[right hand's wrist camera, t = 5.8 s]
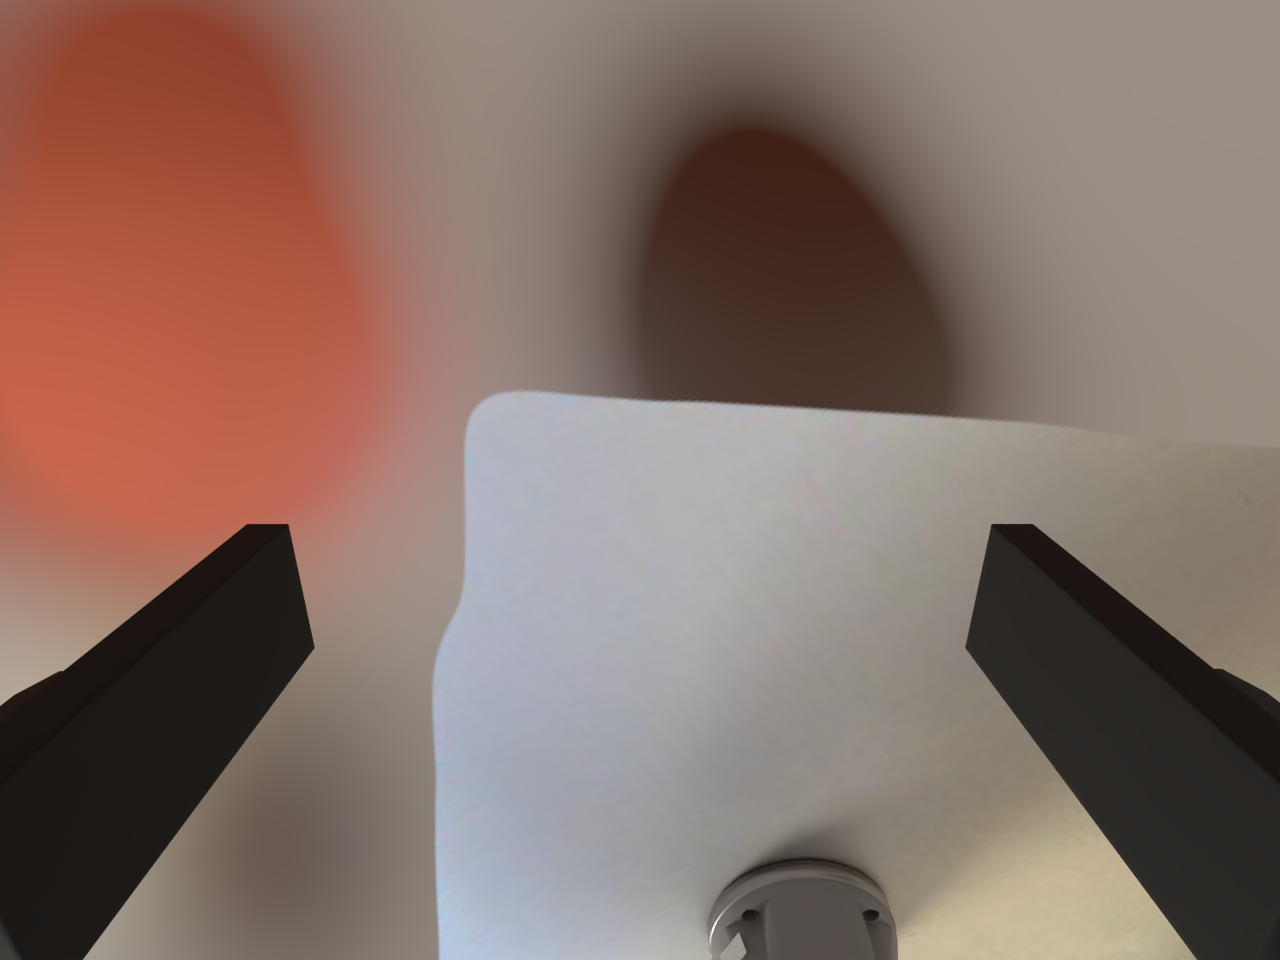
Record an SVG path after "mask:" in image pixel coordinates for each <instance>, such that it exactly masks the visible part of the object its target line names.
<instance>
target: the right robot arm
mask: <svg viewBox="0 0 1280 960" xmlns="http://www.w3.org/2000/svg"><path fill="white" fill-rule="evenodd" d="M314 648H315V647H314V643H313V638H312V633H311V628H310V624H309V619H308V615H307V610H306V605H305V600H304V596H303V591H302V586H301V581H300V577H299V572H298V567H297V563H296V558H295V553H294V549H293V544H292V539H291V534H290V530H289V525H288V524H247V525H246V526H244V527H243V528H242V529H241V530H239V531H238V532H237V533H236V534H234V535H233V536H232V537H231V538H229V539H228V540H227V541H226V542H224V543H223V544H222V545H221V546H219V547H218V548H217V549H216V550H214V551H213V552H212V553H211V554H209V555H208V556H207V557H206V558H204V559H203V560H202V561H201V562H199V563H198V564H197V565H196V566H194V567H193V568H192V569H191V570H189V571H188V572H187V573H186V574H184V575H183V576H182V577H181V578H179V579H178V580H177V581H176V582H174V583H173V584H172V585H171V586H169V587H168V588H167V589H166V590H164V591H163V592H162V593H161V594H159V595H158V596H157V597H156V598H154V599H153V600H152V601H151V602H149V603H148V604H147V605H146V606H144V607H143V608H142V609H141V610H139V611H138V612H137V613H136V614H134V615H133V616H132V617H131V618H129V619H128V620H127V621H126V622H124V623H123V624H122V625H121V626H119V627H118V628H117V629H116V630H114V631H113V632H112V633H111V634H109V635H108V636H107V637H106V638H104V639H103V640H102V641H101V642H99V643H98V644H97V645H96V646H94V647H93V648H92V649H91V650H89V651H88V652H87V653H86V654H84V655H83V656H82V657H81V658H79V659H78V660H77V661H75V662H74V663H73V664H72V665H71V666H69V667H68V668H67V669H66V670H64V671H59V672H57V673H55V674H53V675H51V676H49V677H48V678H46V679H44V680H42V681H40V682H38V683H36V684H34V685H33V686H31V687H29V688H27V689H25V690H23V691H21V692H19V693H17V694H15V695H14V696H13V697H11V698H10V699H9V700H7V701H6V702H5V703H4V704H2V705H1V706H0V960H83V959H84V957H85V956H86V955H87V953H88V952H89V951H90V949H91V948H92V947H93V945H94V944H95V943H96V941H97V940H98V939H99V937H100V936H101V935H102V933H103V932H104V930H105V929H106V928H107V926H108V925H109V924H110V922H111V921H112V920H113V918H114V917H115V916H116V914H117V913H118V912H119V910H120V909H121V908H122V906H123V905H124V904H125V902H126V901H127V900H128V898H129V897H130V895H131V894H132V893H133V891H134V890H135V889H136V887H137V886H138V885H139V883H140V882H141V881H142V879H143V878H144V877H145V875H146V874H147V873H148V871H149V870H150V869H151V867H152V866H153V864H154V863H155V862H156V861H157V859H158V858H159V856H160V855H161V854H162V852H163V851H164V850H165V848H166V847H167V846H168V844H169V843H170V842H171V840H172V839H173V838H174V836H175V835H176V834H177V832H178V831H179V830H180V828H181V827H182V826H183V824H184V823H185V822H186V820H187V819H188V817H189V816H190V815H191V813H192V812H193V811H194V809H195V808H196V807H197V805H198V804H199V803H200V801H201V800H202V799H203V797H204V796H205V795H206V793H207V792H208V791H209V789H210V788H211V787H212V785H213V784H214V782H215V781H216V780H217V778H218V777H219V776H220V774H221V773H222V772H223V770H224V769H225V768H226V766H227V765H228V764H229V762H230V761H231V760H232V758H233V757H234V756H235V754H236V753H237V752H238V750H239V749H240V748H241V746H242V745H243V744H244V742H245V741H246V739H247V738H248V737H249V735H250V734H251V733H252V731H253V730H254V729H255V727H256V726H257V725H258V723H259V722H260V721H261V719H262V718H263V717H264V715H265V714H266V713H267V711H268V710H269V709H270V707H271V706H272V704H273V703H274V702H275V700H276V699H277V698H278V696H279V695H280V694H281V692H282V691H283V690H284V688H285V687H286V686H287V684H288V683H289V682H290V680H291V679H292V678H293V676H294V675H295V673H296V672H297V671H298V669H299V668H300V667H301V665H302V664H303V663H304V661H305V660H306V659H307V657H308V656H309V655H310V653H311V652H312V651H313V649H314ZM965 648H966V649H967V651H968V652H969V653H970V655H971V656H972V657H973V659H974V660H975V661H976V663H977V664H978V665H979V667H980V668H981V670H982V671H983V672H984V674H985V675H986V676H987V678H988V679H989V680H990V682H991V683H992V684H993V686H994V687H995V688H996V690H997V691H998V692H999V694H1000V695H1001V696H1002V698H1003V699H1004V700H1005V702H1006V703H1007V704H1008V706H1009V707H1010V709H1011V710H1012V711H1013V713H1014V714H1015V715H1016V717H1017V718H1018V719H1019V721H1020V722H1021V723H1022V725H1023V726H1024V727H1025V729H1026V730H1027V731H1028V733H1029V734H1030V735H1031V737H1032V738H1033V739H1034V741H1035V742H1036V744H1037V745H1038V746H1039V748H1040V749H1041V750H1042V752H1043V753H1044V754H1045V756H1046V757H1047V758H1048V760H1049V761H1050V762H1051V764H1052V765H1053V766H1054V768H1055V769H1056V770H1057V772H1058V773H1059V774H1060V776H1061V777H1062V778H1063V780H1064V781H1065V783H1066V784H1067V785H1068V787H1069V788H1070V789H1071V791H1072V792H1073V793H1074V795H1075V796H1076V797H1077V799H1078V800H1079V801H1080V803H1081V804H1082V805H1083V807H1084V808H1085V809H1086V811H1087V812H1088V813H1089V815H1090V816H1091V817H1092V819H1093V820H1094V822H1095V823H1096V824H1097V826H1098V827H1099V828H1100V830H1101V831H1102V832H1103V834H1104V835H1105V836H1106V838H1107V839H1108V840H1109V842H1110V843H1111V844H1112V846H1113V847H1114V848H1115V850H1116V851H1117V852H1118V854H1119V855H1120V856H1121V858H1122V859H1123V861H1124V862H1125V863H1126V865H1127V866H1128V867H1129V869H1130V870H1131V871H1132V873H1133V874H1134V875H1135V877H1136V878H1137V879H1138V881H1139V882H1140V883H1141V885H1142V886H1143V887H1144V889H1145V890H1146V891H1147V893H1148V894H1149V896H1150V897H1151V898H1152V900H1153V901H1154V902H1155V904H1156V905H1157V906H1158V908H1159V909H1160V910H1161V912H1162V913H1163V914H1164V916H1165V917H1166V918H1167V920H1168V921H1169V922H1170V924H1171V925H1172V926H1173V928H1174V929H1175V930H1176V932H1177V933H1178V935H1179V936H1180V937H1181V939H1182V940H1183V941H1184V943H1185V944H1186V945H1187V947H1188V948H1189V949H1190V951H1191V952H1192V953H1193V955H1194V956H1195V957H1196V959H1197V960H1280V703H1279V702H1278V701H1277V700H1276V699H1274V698H1273V697H1272V696H1270V695H1269V694H1268V693H1266V692H1265V691H1263V690H1261V689H1259V688H1257V687H1255V686H1253V685H1251V684H1249V683H1247V682H1246V681H1244V680H1242V679H1240V678H1238V677H1236V676H1234V675H1232V674H1230V673H1228V672H1226V671H1225V670H1223V669H1213V668H1212V667H1211V666H1210V665H1208V664H1207V663H1206V662H1205V661H1203V660H1202V659H1201V658H1200V657H1198V656H1197V655H1196V654H1194V653H1193V652H1192V651H1191V650H1189V649H1188V648H1187V647H1186V646H1184V645H1183V644H1182V643H1181V642H1179V641H1178V640H1177V639H1176V638H1174V637H1173V636H1172V635H1171V634H1169V633H1168V632H1167V631H1166V630H1164V629H1163V628H1162V627H1161V626H1159V625H1158V624H1157V623H1156V622H1154V621H1153V620H1152V619H1151V618H1149V617H1148V616H1147V615H1146V614H1144V613H1143V612H1142V611H1141V610H1139V609H1138V608H1137V607H1136V606H1134V605H1133V604H1132V603H1131V602H1129V601H1128V600H1127V599H1126V598H1124V597H1123V596H1122V595H1121V594H1119V593H1118V592H1117V591H1116V590H1114V589H1113V588H1112V587H1111V586H1109V585H1108V584H1107V583H1106V582H1104V581H1103V580H1102V579H1101V578H1099V577H1098V576H1097V575H1096V574H1094V573H1093V572H1092V571H1091V570H1089V569H1088V568H1087V567H1086V566H1084V565H1083V564H1082V563H1081V562H1079V561H1078V560H1077V559H1076V558H1074V557H1073V556H1072V555H1071V554H1069V553H1068V552H1067V551H1066V550H1064V549H1063V548H1062V547H1061V546H1059V545H1058V544H1057V543H1056V542H1054V541H1053V540H1052V539H1051V538H1049V537H1048V536H1047V535H1046V534H1044V533H1043V532H1042V531H1041V530H1039V529H1038V528H1037V527H1036V526H1034V525H1033V524H992V525H991V530H990V534H989V539H988V544H987V549H986V553H985V558H984V563H983V567H982V572H981V577H980V581H979V586H978V591H977V596H976V600H975V605H974V610H973V614H972V619H971V624H970V628H969V633H968V638H967V643H966V647H965ZM708 937H709V947H710V954H711V958H712V960H898V946H897V935H896V927H895V923H894V920H893V917H892V914H891V911H890V908H889V906H888V903H887V900H886V898H885V896H884V894H883V893H882V891H881V890H880V889H879V888H878V886H877V885H876V884H875V883H874V882H872V881H871V880H870V879H869V878H867V877H866V876H865V875H863V874H861V873H859V872H858V871H856V870H853V869H851V868H849V867H846V866H843V865H839V864H836V863H831V862H826V861H817V860H797V861H787V862H782V863H777V864H773V865H769V866H766V867H763V868H760V869H758V870H755V871H753V872H751V873H749V874H747V875H745V876H743V877H742V878H740V879H739V880H737V881H736V882H734V883H733V884H732V885H730V886H729V887H728V888H727V889H726V890H725V891H724V892H723V893H722V894H721V895H720V897H719V898H718V899H717V901H716V902H715V904H714V906H713V908H712V910H711V913H710V916H709V921H708Z"/></svg>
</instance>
